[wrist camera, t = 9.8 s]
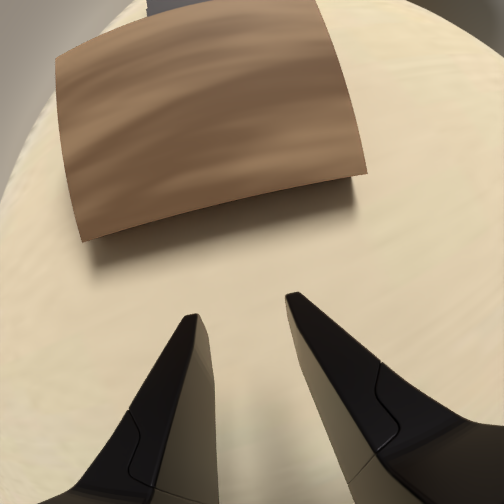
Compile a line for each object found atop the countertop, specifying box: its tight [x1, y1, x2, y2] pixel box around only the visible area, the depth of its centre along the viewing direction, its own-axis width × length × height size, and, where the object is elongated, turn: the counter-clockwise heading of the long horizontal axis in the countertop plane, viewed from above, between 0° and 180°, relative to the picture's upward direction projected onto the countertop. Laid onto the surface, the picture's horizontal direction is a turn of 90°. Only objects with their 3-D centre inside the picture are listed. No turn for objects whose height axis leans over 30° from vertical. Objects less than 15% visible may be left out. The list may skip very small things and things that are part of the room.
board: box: [55, 0, 368, 243], centre depth 14 cm, size 2×16×12 cm
